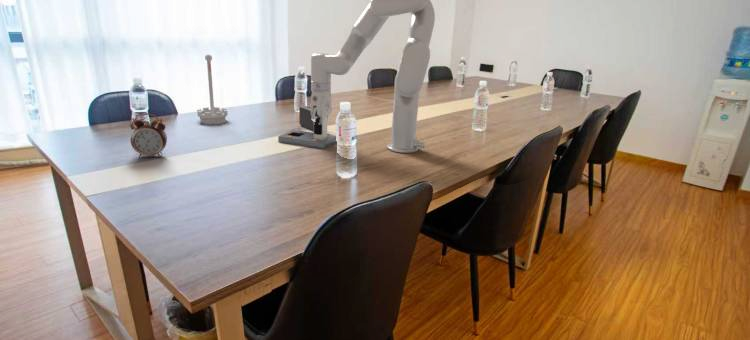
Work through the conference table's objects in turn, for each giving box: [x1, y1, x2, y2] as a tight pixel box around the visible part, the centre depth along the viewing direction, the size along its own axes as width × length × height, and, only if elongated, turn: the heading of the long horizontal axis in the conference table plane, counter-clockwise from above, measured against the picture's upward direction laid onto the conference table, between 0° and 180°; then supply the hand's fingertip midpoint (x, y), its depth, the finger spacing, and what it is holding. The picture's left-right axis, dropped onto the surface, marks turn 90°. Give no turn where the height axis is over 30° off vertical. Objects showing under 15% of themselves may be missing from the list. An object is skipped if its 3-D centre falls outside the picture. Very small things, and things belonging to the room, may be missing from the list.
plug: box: [314, 115, 328, 141], centre depth 170 cm, size 5×4×11 cm
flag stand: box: [196, 54, 228, 125], centre depth 194 cm, size 13×13×30 cm
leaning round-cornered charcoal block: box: [298, 105, 314, 132], centre depth 193 cm, size 16×5×9 cm, turn 39°
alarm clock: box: [129, 113, 168, 159], centre depth 145 cm, size 11×5×15 cm, turn 105°
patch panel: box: [278, 129, 337, 150], centre depth 174 cm, size 20×12×3 cm, turn 71°
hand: (320, 132), depth 171 cm, fingers closed on plug, 4 cm apart
